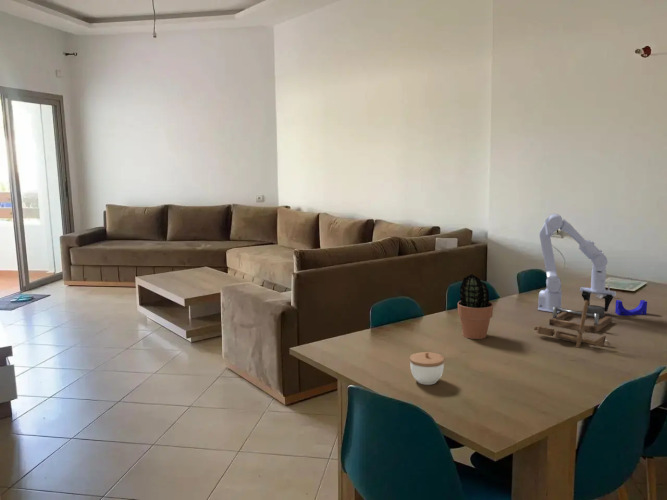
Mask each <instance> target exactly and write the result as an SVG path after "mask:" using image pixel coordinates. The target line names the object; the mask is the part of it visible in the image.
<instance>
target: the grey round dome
mask: <svg viewBox="0 0 667 500" xmlns="http://www.w3.org/2000/svg"><path fill="white" fill-rule="evenodd" d="M604 310H605V306H604V307H603V306H601V305H595V304H593V305H592V304H590V305H588V309H587V313H590V314H595V313H597V314H599V318H605V311H604ZM588 317H590V318H594V317H593V316H588Z"/></svg>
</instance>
